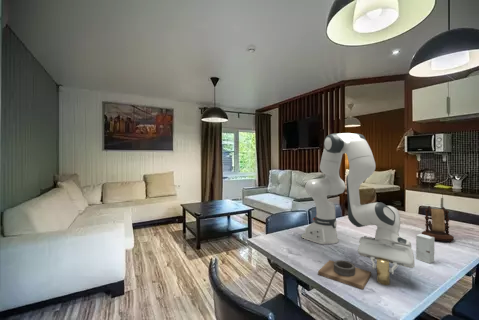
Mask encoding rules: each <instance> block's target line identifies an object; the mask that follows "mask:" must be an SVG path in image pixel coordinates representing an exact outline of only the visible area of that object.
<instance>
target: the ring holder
mask: <svg viewBox="0 0 479 320" xmlns="http://www.w3.org/2000/svg"><path fill="white" fill-rule="evenodd" d="M317 275H318V276H322V277H325V278H326V279H327V278H328V279H329V280H334V281H336V282H340V283H342V284H345V285H347V286H351V287H354V288H357V289H360V290H364V288H365V287H366V285H367V284H368V282H369V280H370V278H371V276H372V271H369V270H366V269H363V268H359V267H356V265H355V263H352V262H351V261H347V260H342V259H341V260H340V259H339V260H335V261H334V260H331V259H329V260H328V261H327V262H326V263H325V264H324V265H323V266H321V267H320V269H319V270H318V271H317Z"/></svg>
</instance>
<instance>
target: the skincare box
mask: <svg viewBox="0 0 479 320" xmlns="http://www.w3.org/2000/svg"><path fill="white" fill-rule="evenodd" d="M415 239H416V240H415V259H416V260H419V261H422V262H425V263H427V264H432V263H434V262H435V240H436V239H435V238H434V237H431V236H428V235H424V234H422V233H419V234H416V235H415Z"/></svg>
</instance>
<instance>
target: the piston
mask: <svg viewBox="0 0 479 320" xmlns="http://www.w3.org/2000/svg"><path fill="white" fill-rule="evenodd" d="M376 264H377V270H376V281H377V283H379V285H383V286H390V284H391V283H390V282H391V279H390V276H391V275H390V274H391V273H389V267H390V263H389V261H388V260H386V259H382V258H377V260H376Z"/></svg>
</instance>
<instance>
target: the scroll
mask: <svg viewBox="0 0 479 320" xmlns="http://www.w3.org/2000/svg"><path fill="white" fill-rule="evenodd" d="M424 212H425V216H424V219H425V224H424V225H425V230H423V231H422V232H421V234H424V235H428V236H431V237H434V238H435V240H437V241H443V242H444V241H445V242H449V243H452V241H454V239H455V238H454V235H451V233H450V229H449V228H450V225H449V224H450V223H449V222H450V218H449V213H450V211H449V210H447V209H446V208H445V207H444V206H442V207H441V209H440V208H431V205H428V206H427V208H425V209H424Z"/></svg>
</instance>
